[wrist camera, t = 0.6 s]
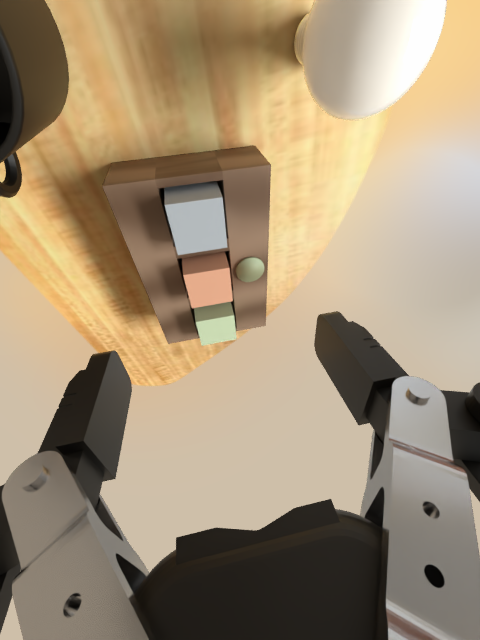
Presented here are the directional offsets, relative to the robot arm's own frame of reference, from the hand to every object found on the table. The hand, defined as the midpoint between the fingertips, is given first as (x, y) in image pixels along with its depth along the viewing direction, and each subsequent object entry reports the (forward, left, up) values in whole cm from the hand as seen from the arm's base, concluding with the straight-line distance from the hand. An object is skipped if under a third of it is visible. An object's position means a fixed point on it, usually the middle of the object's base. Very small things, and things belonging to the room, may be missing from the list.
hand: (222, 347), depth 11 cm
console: (+7, 0, -19) cm, 20 cm away
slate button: (+1, 0, -17) cm, 17 cm away
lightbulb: (-8, +10, -19) cm, 23 cm away
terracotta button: (+7, 0, -17) cm, 18 cm away
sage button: (+13, 0, -17) cm, 21 cm away
